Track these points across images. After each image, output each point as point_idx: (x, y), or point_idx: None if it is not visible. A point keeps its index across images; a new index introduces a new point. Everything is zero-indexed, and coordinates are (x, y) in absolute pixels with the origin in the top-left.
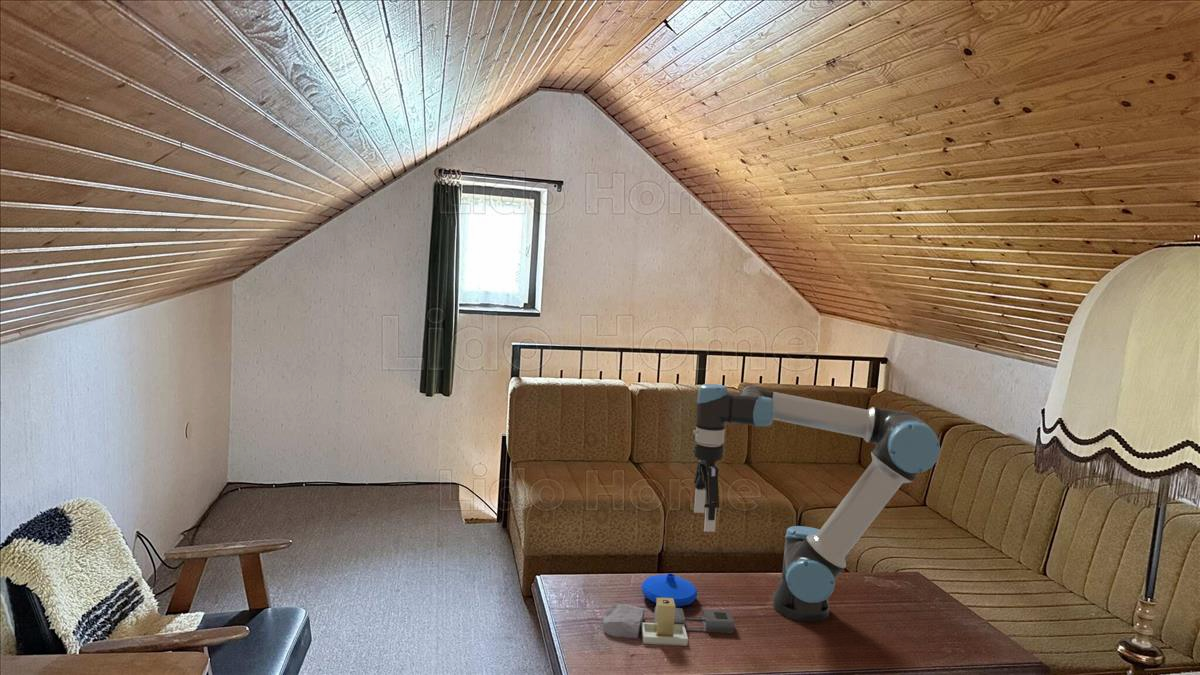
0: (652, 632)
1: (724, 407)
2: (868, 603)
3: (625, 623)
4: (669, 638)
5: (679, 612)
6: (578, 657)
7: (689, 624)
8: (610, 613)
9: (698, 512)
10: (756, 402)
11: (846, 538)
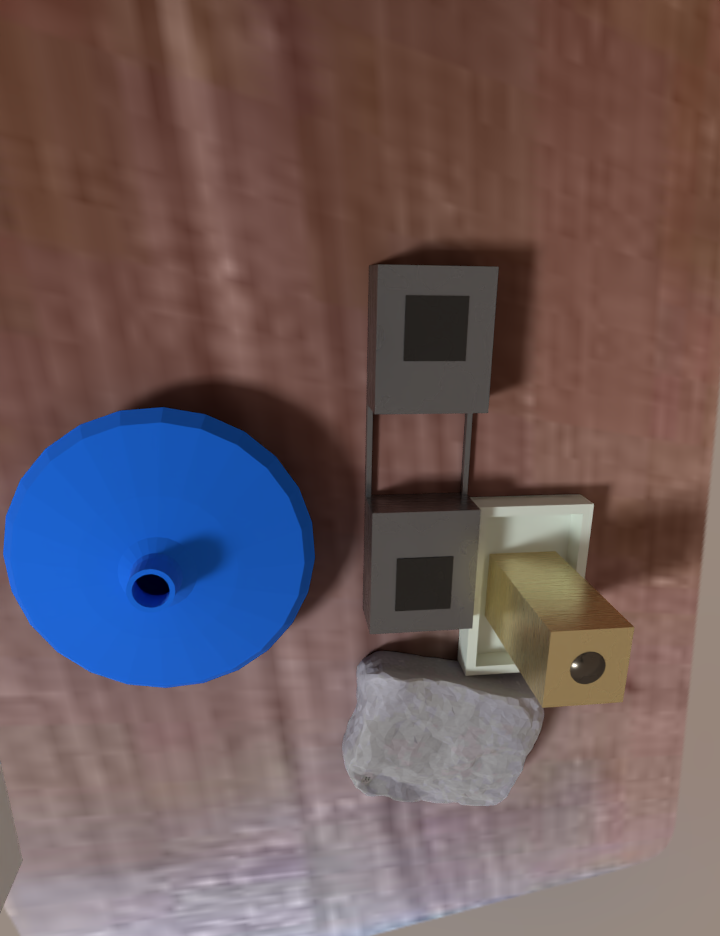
0: None
1: None
2: None
3: (530, 749)
4: (583, 574)
5: (415, 529)
6: (633, 835)
7: (410, 464)
8: (408, 787)
9: (9, 813)
10: None
11: None
